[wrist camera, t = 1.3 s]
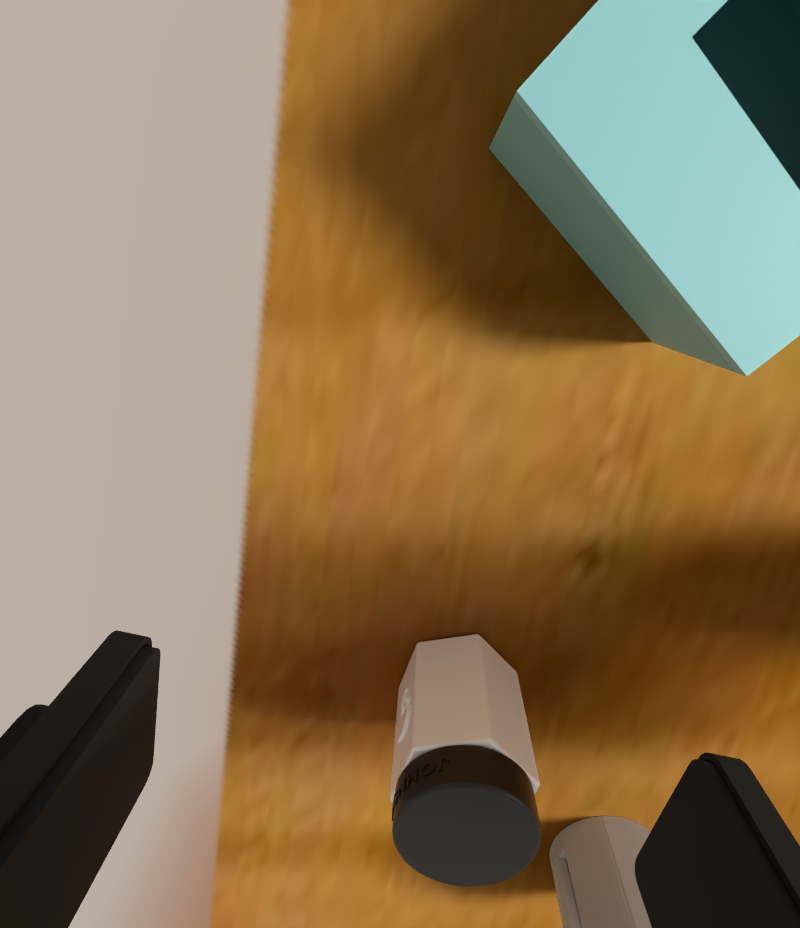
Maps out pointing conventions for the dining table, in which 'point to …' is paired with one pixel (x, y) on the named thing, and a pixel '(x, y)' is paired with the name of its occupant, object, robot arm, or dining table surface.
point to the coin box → (675, 166)
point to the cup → (599, 873)
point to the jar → (463, 766)
